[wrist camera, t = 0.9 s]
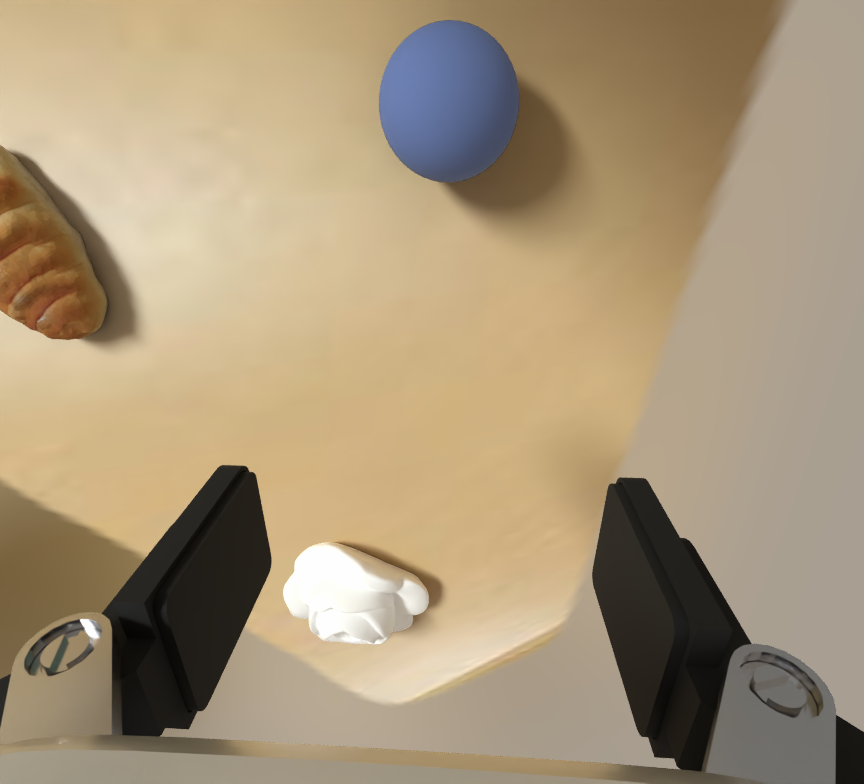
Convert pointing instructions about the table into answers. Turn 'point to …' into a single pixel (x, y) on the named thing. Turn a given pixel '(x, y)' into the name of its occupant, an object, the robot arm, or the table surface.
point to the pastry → (43, 261)
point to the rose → (352, 594)
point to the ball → (449, 101)
